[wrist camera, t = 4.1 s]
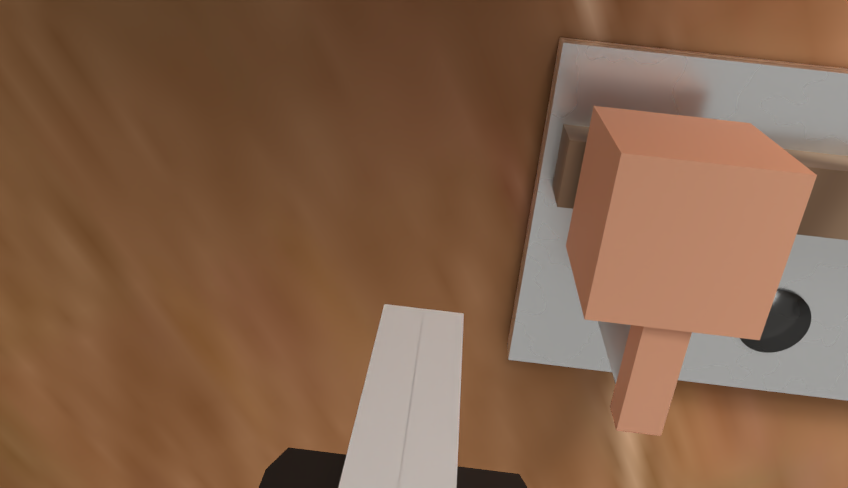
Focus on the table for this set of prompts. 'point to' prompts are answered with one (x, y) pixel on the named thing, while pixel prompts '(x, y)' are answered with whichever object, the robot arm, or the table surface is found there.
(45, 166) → the table surface
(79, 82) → the table surface
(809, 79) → the bolt plate
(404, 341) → the robot arm
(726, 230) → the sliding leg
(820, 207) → the rail and fixed leg
